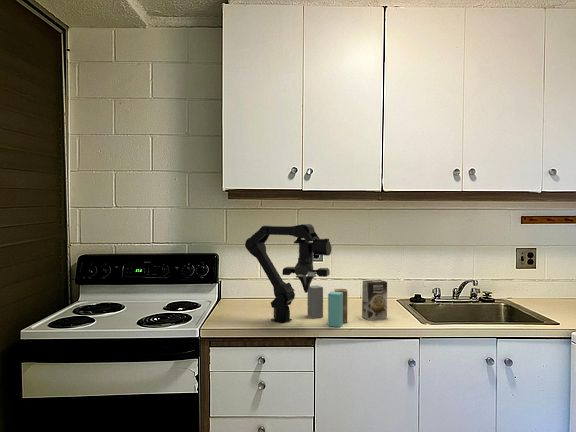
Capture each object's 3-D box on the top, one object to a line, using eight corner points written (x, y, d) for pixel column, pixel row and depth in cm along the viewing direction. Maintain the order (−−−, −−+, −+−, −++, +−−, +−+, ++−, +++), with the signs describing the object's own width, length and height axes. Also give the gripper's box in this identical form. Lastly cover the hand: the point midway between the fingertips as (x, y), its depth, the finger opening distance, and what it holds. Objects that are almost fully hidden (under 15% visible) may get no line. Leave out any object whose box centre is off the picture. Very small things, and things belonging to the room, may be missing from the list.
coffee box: (368, 320, 187) (368, 282, 187) (361, 317, 193) (361, 280, 193) (387, 319, 190) (387, 281, 189) (380, 315, 196) (380, 279, 195)
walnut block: (335, 322, 184) (335, 291, 184) (334, 319, 189) (334, 288, 189) (347, 322, 184) (347, 291, 183) (346, 319, 189) (346, 288, 188)
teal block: (328, 325, 178) (328, 293, 178) (330, 322, 183) (330, 291, 183) (340, 326, 177) (340, 294, 177) (342, 323, 182) (342, 292, 181)
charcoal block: (312, 318, 191) (312, 288, 190) (307, 315, 195) (307, 286, 195) (323, 316, 193) (323, 287, 192) (317, 314, 197) (317, 285, 197)
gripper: (277, 256, 177) (278, 295, 177) (323, 257, 171) (323, 297, 171) (286, 253, 187) (286, 290, 188) (329, 254, 181) (330, 292, 182)
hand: (306, 292), depth 182 cm, fingers closed
